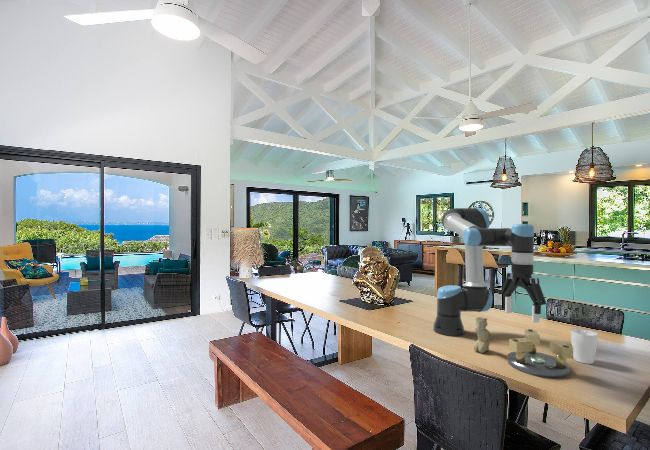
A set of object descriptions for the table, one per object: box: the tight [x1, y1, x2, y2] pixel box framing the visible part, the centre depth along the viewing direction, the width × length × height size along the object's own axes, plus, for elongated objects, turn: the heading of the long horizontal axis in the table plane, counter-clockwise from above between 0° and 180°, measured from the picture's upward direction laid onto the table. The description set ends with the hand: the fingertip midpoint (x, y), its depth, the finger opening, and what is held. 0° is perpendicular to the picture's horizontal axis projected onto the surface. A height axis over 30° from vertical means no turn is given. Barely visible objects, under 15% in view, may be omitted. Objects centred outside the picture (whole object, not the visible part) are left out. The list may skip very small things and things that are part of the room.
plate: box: [507, 351, 570, 379], centre depth 137 cm, size 21×21×3 cm
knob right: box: [549, 340, 574, 369], centre depth 131 cm, size 7×4×9 cm, turn 0°
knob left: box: [508, 337, 532, 364], centre depth 135 cm, size 7×4×9 cm, turn 103°
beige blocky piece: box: [524, 328, 541, 354], centre depth 144 cm, size 7×4×9 cm, turn 163°
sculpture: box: [473, 316, 491, 354], centre depth 152 cm, size 6×7×15 cm
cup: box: [570, 328, 599, 365], centre depth 142 cm, size 9×9×12 cm
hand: (521, 317), depth 135 cm, fingers open, 13 cm apart
